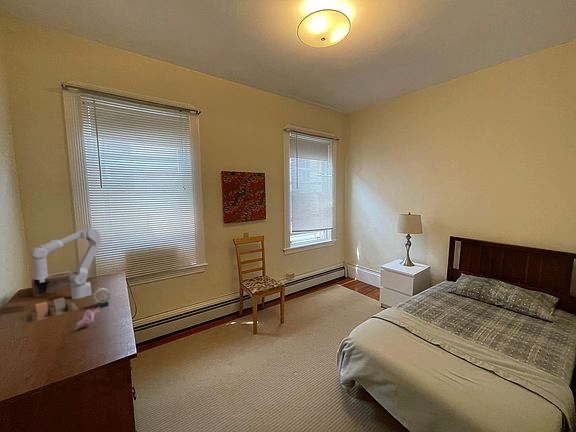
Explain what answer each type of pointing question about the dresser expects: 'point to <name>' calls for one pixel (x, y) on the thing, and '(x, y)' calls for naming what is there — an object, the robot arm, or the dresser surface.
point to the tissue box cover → (55, 282)
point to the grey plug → (59, 304)
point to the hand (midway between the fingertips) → (42, 292)
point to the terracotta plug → (41, 309)
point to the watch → (104, 302)
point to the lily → (88, 317)
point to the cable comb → (49, 312)
